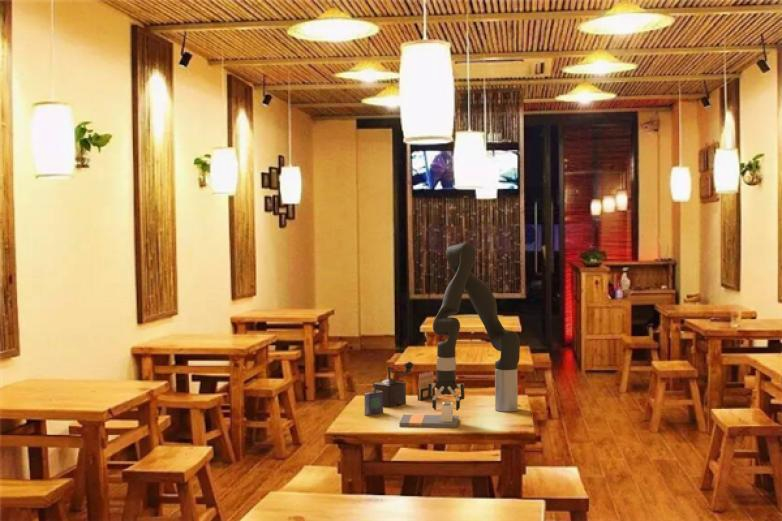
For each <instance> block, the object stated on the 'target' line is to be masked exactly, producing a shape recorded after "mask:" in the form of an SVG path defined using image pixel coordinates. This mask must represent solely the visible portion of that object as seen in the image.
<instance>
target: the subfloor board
mask: <svg viewBox="0 0 782 521" xmlns="http://www.w3.org/2000/svg"><path fill="white" fill-rule="evenodd" d="M459 418H460V417H459V415H455V414H453V420H452V422H442V414H440V415H439V414H434V415H433V414H403V415H402V416H401V418H400V421H399V422H398V423H399V426H398V427H400V428H451V429H452V428H454V429H455V428H458V423H459V420H460V419H459Z"/></svg>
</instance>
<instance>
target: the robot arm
mask: <svg viewBox="0 0 782 521" xmlns="http://www.w3.org/2000/svg"><path fill="white" fill-rule="evenodd" d="M476 258H477V251H476V248H475V247H474V245H473V243H470V242H462V243H458V244H454V245H450V246H448V247H447V248H446V250H445V259H446V261H447V263H448V265H449V266H450V268H451V270H452V271H453V273H454V276H453V278H452V279H451V280H450V282H449V284H448V285H447V287H446V289H445V291H444V293H443V297H442V298H443V299H442V303H441V306H440V308H439V310H438V313H437V314H436V316H435V318H434V319H433V322H432V329H433V330H432V331H433V333H434V334H435V335H439V336H448V338H447V340H441V341H439V342H438V343H437V349H436V351H437V352H436V353H437V355H436V356H437V357H436V365H435V366H436V382H434V383H431V382H430V383H429V385H428V398H429V399H430V400H432V404H431V405H432V409H433V411H436V410H437V398H438V397H439V395H448V396H450V395H452V396H453V397H454V399H455V400H456V401H455V407H456V408H455V410H456V411H459V410H460V408H461V401H462V400H464V399H465V397H466V396H465V384H464V382H462V383H457V359H456V345H457V341H458V336H459V333H460V330H461V323H460V320H459V319H458V318H457V317H451V316H453V315H457V314H458V313H459V312H460V308H461V303H462V298H463V294H464V290H465V292H466V294H467V296H468V298H469V301H470V303H471V304H472V306H473V308H474V310H475V311H476V313H477V315H478V317H479V319H480V322H482V324H483V327H484V329H485V331H486V333H487V337H488V338H489V342H490V343H491V345H492V347H493V348H494V349H495V350H496V351H497V352H500V357H499V359H498V360H496V361H495V363H494V385H495V386H494V410H495V411H498V412H506V413H507V412H517V411H519V410H518V409H519V408H518V407H519V405H518V400H519V399H518V398H519V396H518V394H519V393H518V392H519V391H518V364H519V363H520V354H521V353H520V352H521V341H520V336H519V335H518V333H517V332H515V331H513V330H509V329H505V327H504V326H503V325H502V323H501V321H500V319H499V317H498V316H499V315H498V310H497V309H498V308H497V307H498V305H497V300H496V299H495V296H494V294H493V292H492V290H491V289H490V287H489V286H488V284H486V283H485V282H484V281H483V280H482V279H480V278H479V277H477V276H476V275H475V274H474V273H473V272H472V269H473V267H474V264H475V261H476ZM434 386H435V388H436V390H437V391H435V395H434V396H432V395H431V392H432V389H433V388H434ZM457 387H458V390H460V396H459V394H458V393H457V391H456V389H457ZM429 399H428V400H429Z"/></svg>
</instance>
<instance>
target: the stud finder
mask: <svg viewBox="0 0 782 521" xmlns="http://www.w3.org/2000/svg"><path fill="white" fill-rule="evenodd" d="M441 415H442V422H452V420H453V415H454V402H453V401H443V402H442V404H441Z"/></svg>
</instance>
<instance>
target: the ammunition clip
mask: <svg viewBox="0 0 782 521" xmlns="http://www.w3.org/2000/svg"><path fill="white" fill-rule="evenodd" d="M430 382H431V383H435V379H434V372H433V370H431V371H429V372H428V371H426V372H422V373H419V376H418V389H417V401H419V402H422V401H427V400H429V398H428V385H429V383H430ZM435 388H436V387H435V386H434V388H433V389H432V392H431V395H432V396H434V395H435V394H436V389H435Z"/></svg>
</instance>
